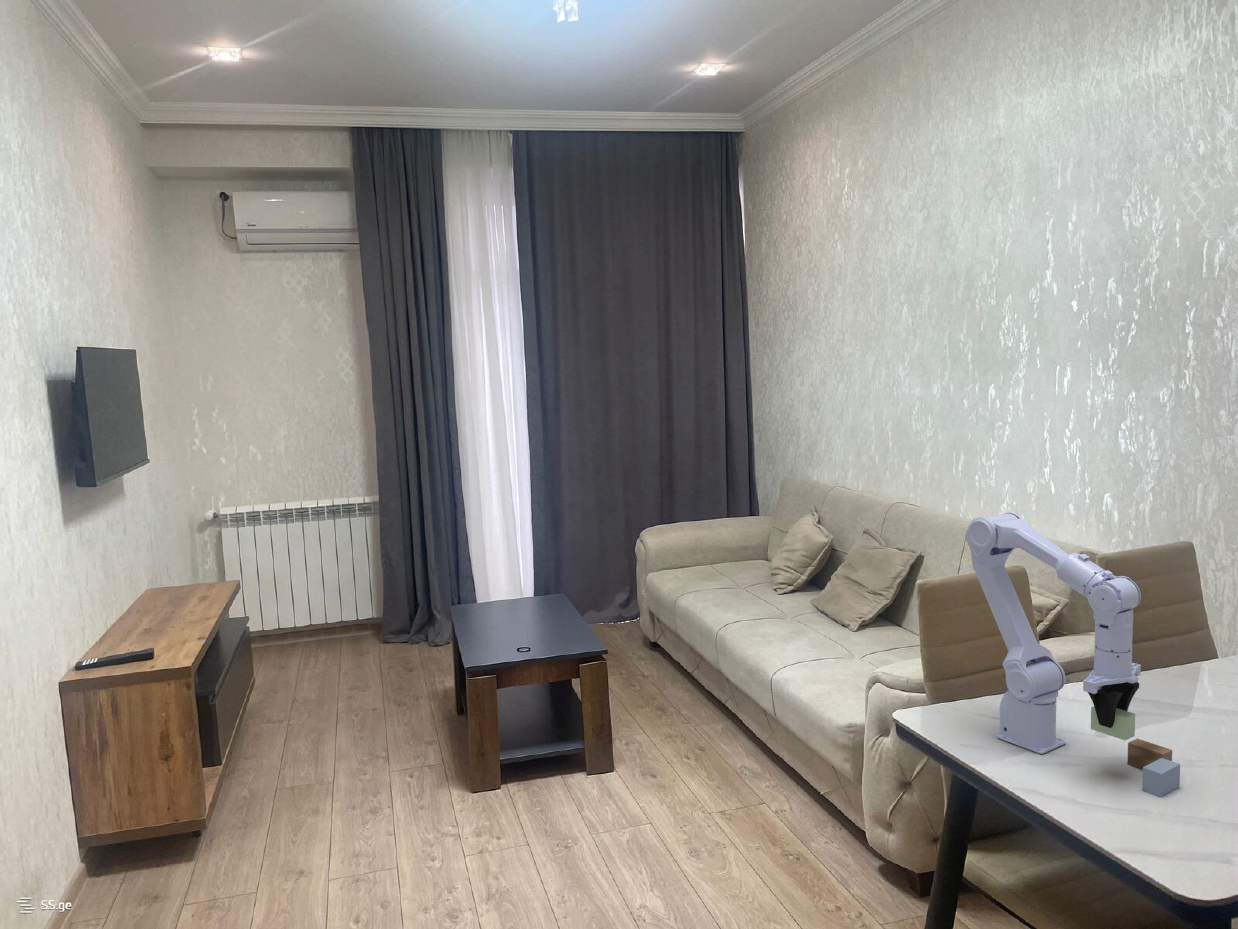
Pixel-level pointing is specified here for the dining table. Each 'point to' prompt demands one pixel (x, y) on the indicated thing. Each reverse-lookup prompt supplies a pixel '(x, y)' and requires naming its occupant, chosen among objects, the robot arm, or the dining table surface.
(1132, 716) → the sage brick
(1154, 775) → the slate brick
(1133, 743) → the walnut brick
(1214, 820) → the dining table surface
